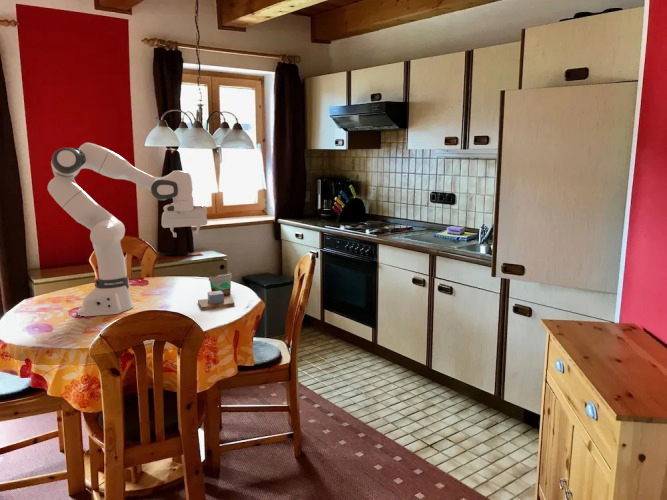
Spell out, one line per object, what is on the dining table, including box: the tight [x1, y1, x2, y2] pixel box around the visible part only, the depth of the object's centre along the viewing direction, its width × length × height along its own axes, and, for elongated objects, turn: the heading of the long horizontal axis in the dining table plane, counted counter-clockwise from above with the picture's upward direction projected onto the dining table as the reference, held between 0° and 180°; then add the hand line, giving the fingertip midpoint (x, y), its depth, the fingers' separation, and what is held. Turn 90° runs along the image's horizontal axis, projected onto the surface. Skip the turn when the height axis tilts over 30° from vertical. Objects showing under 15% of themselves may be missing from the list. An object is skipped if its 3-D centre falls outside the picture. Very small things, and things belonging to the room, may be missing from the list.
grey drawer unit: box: [207, 291, 224, 304], centre depth 235 cm, size 6×6×4 cm
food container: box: [208, 271, 233, 297], centre depth 251 cm, size 12×6×10 cm, turn 143°
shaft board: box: [197, 295, 236, 311], centre depth 236 cm, size 14×12×4 cm
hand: (185, 236), depth 247 cm, fingers open, 8 cm apart
